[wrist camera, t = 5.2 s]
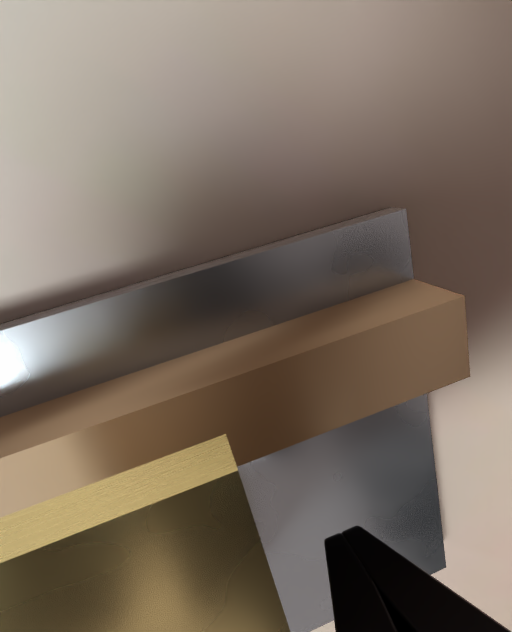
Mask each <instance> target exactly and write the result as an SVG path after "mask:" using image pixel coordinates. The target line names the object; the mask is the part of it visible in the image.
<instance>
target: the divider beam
mask: <svg viewBox="0 0 512 632" xmlns="http://www.w3.org/2000/svg"><path fill="white" fill-rule="evenodd" d="M467 377H470V367H469V352H468V337H467V323H466V308H465V296H464V295H461V294H458V293H455V292H452V291H449V290H446V289H443V288H440V287H437V286H434V285H431V284H428V283H425V282H422V281H419V280H416V279H412V280H409V281H406V282H403V283H400V284H397V285H394V286H391V287H388V288H385V289H382V290H379V291H376V292H373V293H370V294H367V295H364V296H361V297H358V298H355V299H352V300H349V301H346V302H343V303H340V304H337V305H334V306H331V307H328V308H325V309H322V310H319V311H316V312H313V313H310V314H307V315H304V316H301V317H298V318H295V319H292V320H289V321H286V322H283V323H280V324H278V325H275V326H272V327H269V328H266V329H263V330H260V331H257V332H254V333H251V334H248V335H245V336H242V337H239V338H236V339H233V340H230V341H227V342H224V343H221V344H218V345H215V346H212V347H209V348H206V349H203V350H200V351H197V352H194V353H191V354H188V355H185V356H182V357H179V358H176V359H173V360H170V361H167V362H164V363H161V364H158V365H155V366H152V367H149V368H146V369H143V370H140V371H137V372H134V373H131V374H128V375H125V376H122V377H119V378H116V379H113V380H110V381H107V382H104V383H101V384H98V385H95V386H92V387H89V388H86V389H83V390H80V391H77V392H74V393H71V394H68V395H65V396H62V397H59V398H56V399H53V400H50V401H47V402H44V403H41V404H38V405H35V406H32V407H29V408H26V409H23V410H20V411H17V412H14V413H11V414H8V415H5V416H2V417H0V518H1V517H4V516H6V515H9V514H12V513H14V512H17V511H20V510H22V509H25V508H28V507H31V506H33V505H36V504H39V503H41V502H44V501H47V500H49V499H52V498H55V497H57V496H60V495H63V494H65V493H68V492H71V491H73V490H76V489H79V488H82V487H84V486H87V485H90V484H92V483H95V482H98V481H100V480H103V479H106V478H108V477H111V476H114V475H116V474H119V473H122V472H125V471H127V470H130V469H133V468H135V467H138V466H141V465H143V464H146V463H149V462H151V461H154V460H157V459H159V458H162V457H165V456H167V455H170V454H173V453H176V452H178V451H181V450H184V449H186V448H189V447H192V446H194V445H197V444H200V443H202V442H205V441H208V440H210V439H213V438H216V437H218V436H221V435H224V434H226V436H227V439H228V442H229V445H230V448H231V451H232V454H233V457H234V460H235V463H236V466H237V467H238V466H241V465H243V464H246V463H248V462H251V461H253V460H256V459H259V458H261V457H264V456H266V455H269V454H272V453H274V452H277V451H279V450H282V449H284V448H287V447H290V446H292V445H295V444H297V443H300V442H302V441H305V440H308V439H310V438H313V437H315V436H318V435H321V434H323V433H326V432H328V431H331V430H333V429H336V428H339V427H341V426H344V425H346V424H349V423H351V422H354V421H357V420H359V419H362V418H364V417H367V416H369V415H372V414H375V413H377V412H380V411H382V410H385V409H388V408H390V407H393V406H395V405H398V404H400V403H403V402H406V401H408V400H411V399H413V398H416V397H418V396H421V395H424V394H426V393H429V392H431V391H434V390H436V389H439V388H442V387H444V386H447V385H449V384H452V383H455V382H457V381H460V380H462V379H465V378H467Z"/></svg>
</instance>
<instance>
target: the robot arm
mask: <svg viewBox="0 0 512 632" xmlns="http://www.w3.org/2000/svg"><path fill="white" fill-rule="evenodd" d="M324 547H325V554H326V562H327V569H328V577H329V584H330V592H331V600H332V607H333V615H334V622H335V630H336V632H511V631H510V630H508V629H507V628H505V627H504V626H502V625H501V624H500V623H498V622H497V621H495V620H494V619H492V618H491V617H490V616H488V615H487V614H485V613H484V612H482V611H481V610H480V609H478V608H477V607H475V606H474V605H472V604H471V603H470V602H468V601H467V600H465V599H464V598H462V597H461V596H460V595H458V594H457V593H455V592H454V591H452V590H451V589H450V588H448V587H447V586H445V585H444V584H442V583H441V582H440V581H438V580H437V579H435V578H434V577H432V576H431V575H430V574H428V573H427V572H425V571H424V570H422V569H421V568H420V567H418V566H417V565H415V564H414V563H412V562H411V561H409V560H408V559H407V558H405V557H404V556H402V555H401V554H399V553H398V552H397V551H395V550H394V549H392V548H391V547H389V546H388V545H387V544H385V543H384V542H382V541H381V540H379V539H378V538H377V537H375V536H374V535H372V534H371V533H369V532H368V531H367V530H365V529H364V528H362V527H361V526H354V527H351V528H349V529H347V530H344V531H342V533H337V534H335V535H332V536H330V537H328V538H326V539H325V540H324Z"/></svg>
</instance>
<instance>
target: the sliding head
mask: <svg viewBox="0 0 512 632" xmlns="http://www.w3.org/2000/svg"><path fill="white" fill-rule="evenodd" d="M0 632H290V629H289V626H288V622H287V619H286V616H285V613H284V610H283V607H282V604H281V601H280V598H279V595H278V592H277V589H276V586H275V582H274V579H273V576H272V573H271V570H270V567H269V564H268V561H267V558H266V555H265V552H264V549H263V545H262V542H261V539H260V536H259V533H258V530H257V527H256V524H255V521H254V518H253V515H252V512H251V508H250V505H249V502H248V499H247V496H246V493H245V490H244V487H243V484H242V481H241V478H240V475H239V471H238V468H237V466H236V463H235V460H234V457H233V454H232V451H231V448H230V445H229V442H228V439H227V436H226V434H224V435H221V436H218V437H216V438H213V439H210V440H208V441H205V442H202V443H200V444H197V445H194V446H192V447H189V448H186V449H184V450H181V451H178V452H176V453H173V454H170V455H167V456H165V457H162V458H159V459H157V460H154V461H151V462H149V463H146V464H143V465H141V466H138V467H135V468H133V469H130V470H127V471H125V472H122V473H119V474H116V475H114V476H111V477H108V478H106V479H103V480H100V481H98V482H95V483H92V484H90V485H87V486H84V487H82V488H79V489H76V490H73V491H71V492H68V493H65V494H63V495H60V496H57V497H55V498H52V499H49V500H47V501H44V502H41V503H39V504H36V505H33V506H31V507H28V508H25V509H22V510H20V511H17V512H14V513H12V514H9V515H6V516H4V517H1V518H0Z"/></svg>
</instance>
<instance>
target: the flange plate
mask: <svg viewBox="0 0 512 632" xmlns="http://www.w3.org/2000/svg"><path fill="white" fill-rule="evenodd" d="M412 279H414V275H413V266H412V257H411V248H410V240H409V231H408V222H407V213H406V209H404V208H391V207H390V208H387V209H384V210H380V211H377V212H374V213H370V214H367V215H364V216H360V217H357V218H354V219H350V220H347V221H343V222H340V223H337V224H333V225H330V226H327V227H323V228H320V229H317V230H313V231H310V232H307V233H303V234H300V235H297V236H293V237H290V238H287V239H283V240H280V241H277V242H273V243H270V244H267V245H263V246H260V247H257V248H253V249H250V250H246V251H243V252H240V253H236V254H233V255H230V256H226V257H223V258H220V259H216V260H213V261H210V262H206V263H203V264H200V265H196V266H193V267H190V268H186V269H183V270H180V271H176V272H173V273H170V274H166V275H163V276H160V277H156V278H153V279H150V280H146V281H143V282H139V283H136V284H133V285H129V286H126V287H123V288H119V289H116V290H113V291H109V292H106V293H103V294H99V295H96V296H93V297H89V298H86V299H83V300H79V301H76V302H73V303H69V304H66V305H63V306H59V307H56V308H53V309H49V310H46V311H42V312H39V313H36V314H32V315H29V316H26V317H22V318H19V319H16V320H12V321H9V322H6V323H2V324H0V417H2V416H5V415H8V414H11V413H14V412H17V411H20V410H23V409H26V408H29V407H32V406H35V405H38V404H41V403H44V402H47V401H50V400H53V399H56V398H59V397H62V396H65V395H68V394H71V393H74V392H77V391H80V390H83V389H86V388H89V387H92V386H95V385H98V384H101V383H104V382H107V381H110V380H113V379H116V378H119V377H122V376H125V375H128V374H131V373H134V372H137V371H140V370H143V369H146V368H149V367H152V366H155V365H158V364H161V363H164V362H167V361H170V360H173V359H176V358H179V357H182V356H185V355H188V354H191V353H194V352H197V351H200V350H203V349H206V348H209V347H212V346H215V345H218V344H221V343H224V342H227V341H230V340H233V339H236V338H239V337H242V336H245V335H248V334H251V333H254V332H257V331H260V330H263V329H266V328H269V327H272V326H275V325H278V324H280V323H283V322H286V321H289V320H292V319H295V318H298V317H301V316H304V315H307V314H310V313H313V312H316V311H319V310H322V309H325V308H328V307H331V306H334V305H337V304H340V303H343V302H346V301H349V300H352V299H355V298H358V297H361V296H364V295H367V294H370V293H373V292H376V291H379V290H382V289H385V288H388V287H391V286H394V285H397V284H400V283H403V282H406V281H409V280H412ZM237 468H238V471H239V475H240V478H241V481H242V484H243V487H244V490H245V493H246V496H247V499H248V502H249V505H250V508H251V512H252V515H253V518H254V521H255V524H256V527H257V530H258V533H259V536H260V539H261V542H262V545H263V549H264V552H265V555H266V558H267V561H268V564H269V567H270V570H271V573H272V576H273V579H274V582H275V586H276V589H277V592H278V595H279V598H280V601H281V604H282V607H283V610H284V613H285V616H286V619H287V622H288V626H289V629H290V632H310V631H312V630H314V629H316V628H318V627H320V626H322V625H325V624H327V623H329V622H331V621H333V620H334V615H333V607H332V600H331V592H330V584H329V577H328V569H327V562H326V554H325V547H324V540H325V539H326V538H328V537H330V536H332V535H335V534H337V533H342V531H344V530H347V529H349V528H351V527H354V526H361V527H362V528H364V529H365V530H367V531H368V532H369V533H371V534H372V535H374V536H375V537H377V538H378V539H379V540H381V541H382V542H384V543H385V544H387V545H388V546H389V547H391V548H392V549H394V550H395V551H397V552H398V553H399V554H401V555H402V556H404V557H405V558H407V559H408V560H409V561H411V562H412V563H414V564H415V565H417V566H418V567H420V568H421V569H422V570H424V571H425V572H427V573H428V574H430V575H431V574H433V573H435V572H437V571H439V570H441V569H444V568H446V561H445V552H444V543H443V534H442V525H441V516H440V508H439V499H438V490H437V481H436V472H435V463H434V454H433V445H432V436H431V427H430V418H429V409H428V400H427V393H426V394H424V395H421V396H418V397H416V398H413V399H411V400H408V401H406V402H403V403H400V404H398V405H395V406H393V407H390V408H388V409H385V410H382V411H380V412H377V413H375V414H372V415H369V416H367V417H364V418H362V419H359V420H357V421H354V422H351V423H349V424H346V425H344V426H341V427H339V428H336V429H333V430H331V431H328V432H326V433H323V434H321V435H318V436H315V437H313V438H310V439H308V440H305V441H302V442H300V443H297V444H295V445H292V446H290V447H287V448H284V449H282V450H279V451H277V452H274V453H272V454H269V455H266V456H264V457H261V458H259V459H256V460H253V461H251V462H248V463H246V464H243V465H241V466H238V467H237Z"/></svg>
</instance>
